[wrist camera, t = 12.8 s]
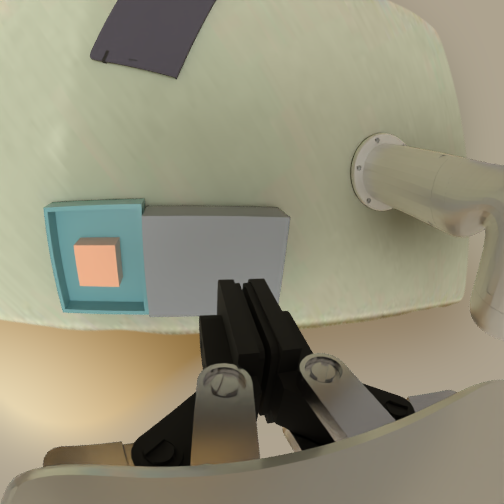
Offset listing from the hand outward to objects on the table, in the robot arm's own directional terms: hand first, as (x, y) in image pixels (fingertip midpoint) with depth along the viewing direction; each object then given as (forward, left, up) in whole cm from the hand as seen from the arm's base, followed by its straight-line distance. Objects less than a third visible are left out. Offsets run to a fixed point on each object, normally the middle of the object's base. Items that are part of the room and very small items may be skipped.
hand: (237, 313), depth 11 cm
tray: (+14, +10, -29) cm, 34 cm away
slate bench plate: (-2, +10, -29) cm, 31 cm away
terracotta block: (+14, +10, -26) cm, 31 cm away
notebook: (+7, -26, -30) cm, 40 cm away
